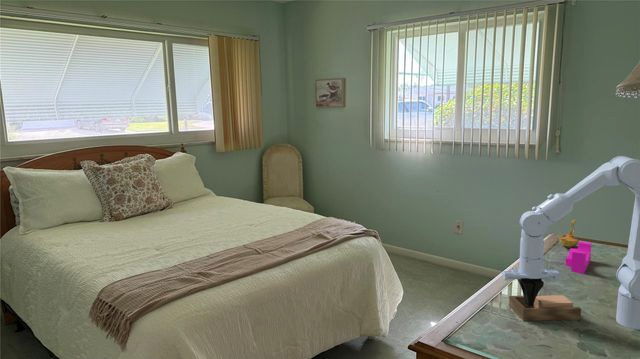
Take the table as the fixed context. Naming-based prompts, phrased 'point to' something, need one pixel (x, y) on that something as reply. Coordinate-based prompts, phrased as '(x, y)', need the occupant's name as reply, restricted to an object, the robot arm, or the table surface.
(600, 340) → the table surface
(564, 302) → the terracotta brick
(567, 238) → the magic lamp
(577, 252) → the toy block
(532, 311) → the walnut cubby
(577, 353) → the table surface
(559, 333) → the table surface
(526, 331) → the table surface
